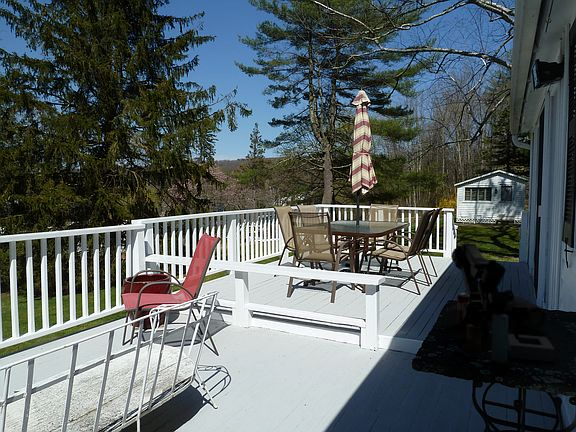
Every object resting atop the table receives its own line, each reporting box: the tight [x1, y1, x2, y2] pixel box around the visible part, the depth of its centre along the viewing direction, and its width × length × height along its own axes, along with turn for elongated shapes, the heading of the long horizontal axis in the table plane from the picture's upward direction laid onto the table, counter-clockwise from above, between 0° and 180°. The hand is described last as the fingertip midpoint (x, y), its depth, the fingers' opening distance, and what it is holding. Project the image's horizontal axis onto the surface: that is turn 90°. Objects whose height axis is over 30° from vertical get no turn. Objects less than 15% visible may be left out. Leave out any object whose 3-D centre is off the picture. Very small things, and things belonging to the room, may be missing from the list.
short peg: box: [466, 324, 482, 353], centre depth 147 cm, size 4×4×8 cm
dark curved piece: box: [504, 294, 548, 330], centre depth 176 cm, size 23×9×10 cm, turn 179°
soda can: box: [456, 292, 469, 329], centre depth 174 cm, size 7×7×12 cm
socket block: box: [508, 333, 556, 363], centre depth 144 cm, size 12×12×4 cm
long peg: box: [491, 314, 509, 364], centre depth 138 cm, size 4×4×14 cm
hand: (501, 338), depth 136 cm, fingers open, 9 cm apart
